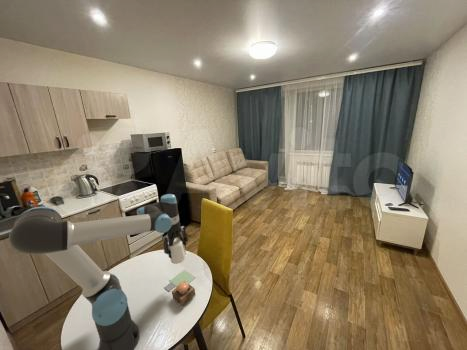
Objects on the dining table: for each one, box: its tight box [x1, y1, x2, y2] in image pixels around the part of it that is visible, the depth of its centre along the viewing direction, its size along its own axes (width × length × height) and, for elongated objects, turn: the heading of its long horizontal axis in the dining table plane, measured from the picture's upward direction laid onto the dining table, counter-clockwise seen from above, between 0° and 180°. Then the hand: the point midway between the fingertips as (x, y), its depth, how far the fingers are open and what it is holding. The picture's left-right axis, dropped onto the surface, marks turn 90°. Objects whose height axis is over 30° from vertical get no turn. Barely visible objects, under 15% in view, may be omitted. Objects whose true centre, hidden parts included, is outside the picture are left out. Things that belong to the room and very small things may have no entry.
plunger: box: [176, 282, 190, 296], centre depth 103 cm, size 6×6×6 cm
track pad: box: [163, 282, 176, 293], centre depth 110 cm, size 4×4×1 cm
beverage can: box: [168, 237, 186, 265], centre depth 109 cm, size 8×8×12 cm
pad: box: [169, 269, 197, 288], centre depth 115 cm, size 11×11×1 cm
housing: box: [171, 281, 196, 307], centre depth 103 cm, size 8×8×4 cm
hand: (178, 257), depth 111 cm, fingers closed on beverage can, 7 cm apart
